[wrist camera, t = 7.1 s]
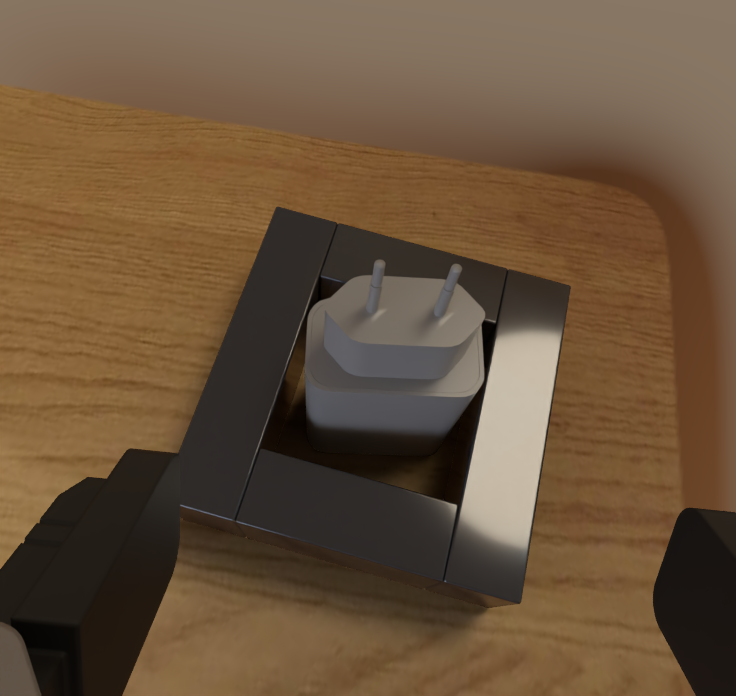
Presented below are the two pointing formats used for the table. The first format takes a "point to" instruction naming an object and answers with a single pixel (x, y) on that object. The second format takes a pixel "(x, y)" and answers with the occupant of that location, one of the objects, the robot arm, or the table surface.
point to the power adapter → (391, 364)
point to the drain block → (359, 494)
